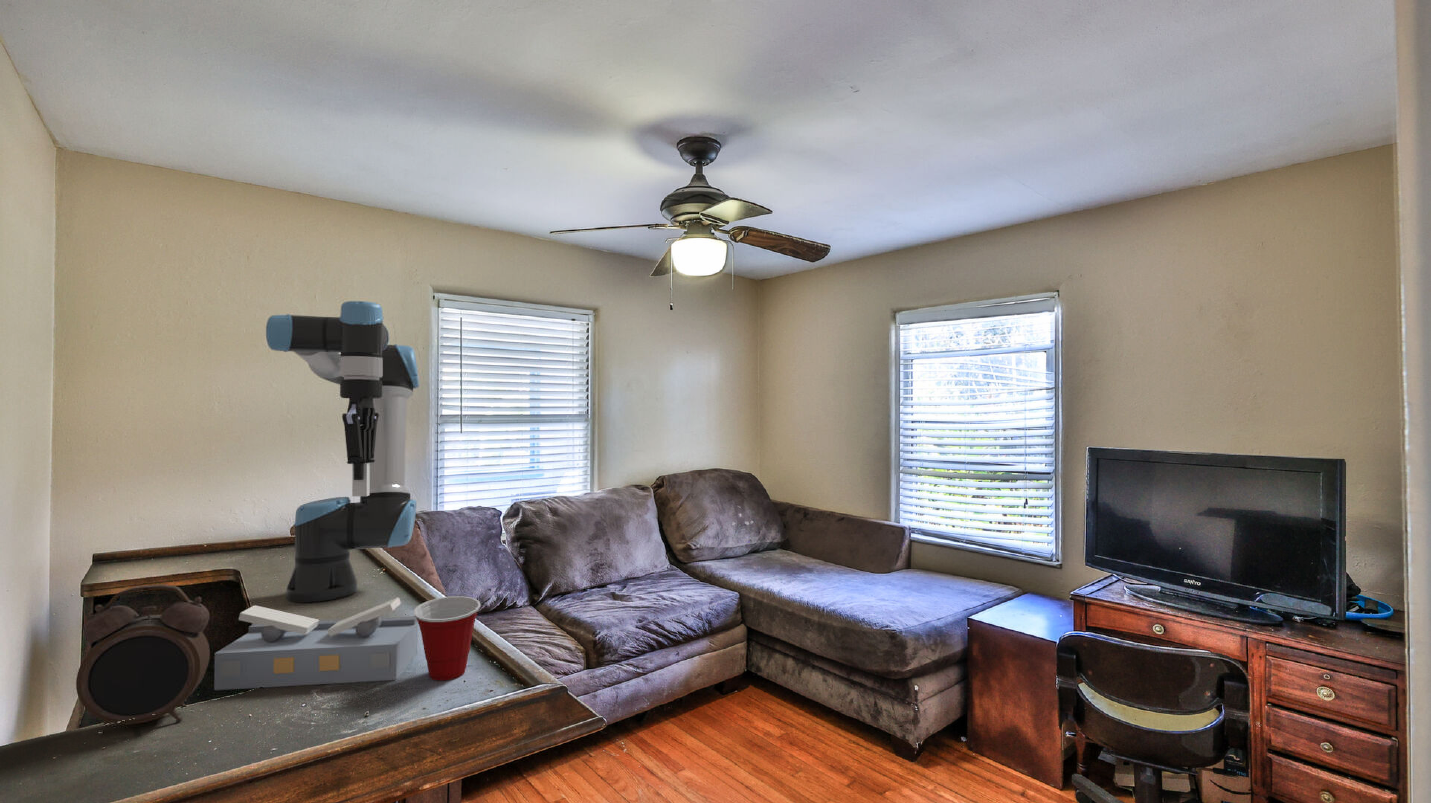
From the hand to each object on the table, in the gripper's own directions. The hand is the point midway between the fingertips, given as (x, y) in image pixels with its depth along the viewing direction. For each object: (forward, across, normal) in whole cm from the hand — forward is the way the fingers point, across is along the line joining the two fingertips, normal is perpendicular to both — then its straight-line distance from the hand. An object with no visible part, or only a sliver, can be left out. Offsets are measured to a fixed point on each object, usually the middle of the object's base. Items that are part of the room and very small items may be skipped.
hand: (360, 495), depth 132 cm
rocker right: (+22, +17, +8) cm, 29 cm away
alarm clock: (+29, +34, -17) cm, 48 cm away
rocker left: (+22, +17, -8) cm, 29 cm away
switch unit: (+28, +17, 0) cm, 33 cm away
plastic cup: (+29, +22, +22) cm, 42 cm away
